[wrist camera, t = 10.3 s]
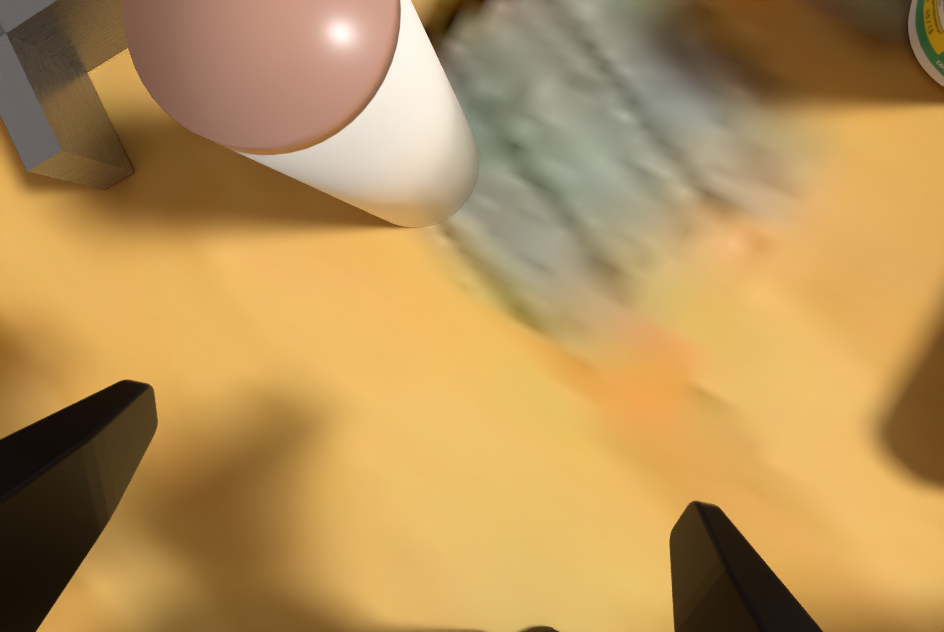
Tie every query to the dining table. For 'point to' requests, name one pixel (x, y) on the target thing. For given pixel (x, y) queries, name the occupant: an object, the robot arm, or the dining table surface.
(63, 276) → the dining table surface
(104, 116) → the bracket
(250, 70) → the mushroom
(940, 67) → the supplement bottle
